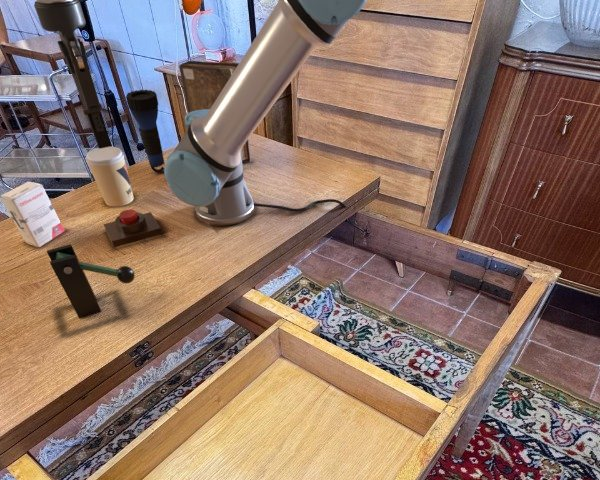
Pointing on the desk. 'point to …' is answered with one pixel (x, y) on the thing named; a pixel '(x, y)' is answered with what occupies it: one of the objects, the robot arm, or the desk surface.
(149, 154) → the flashlight
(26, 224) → the ink box
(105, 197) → the coffee cup
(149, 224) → the button block
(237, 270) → the desk surface
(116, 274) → the lever
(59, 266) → the bracket
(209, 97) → the book
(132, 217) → the button
